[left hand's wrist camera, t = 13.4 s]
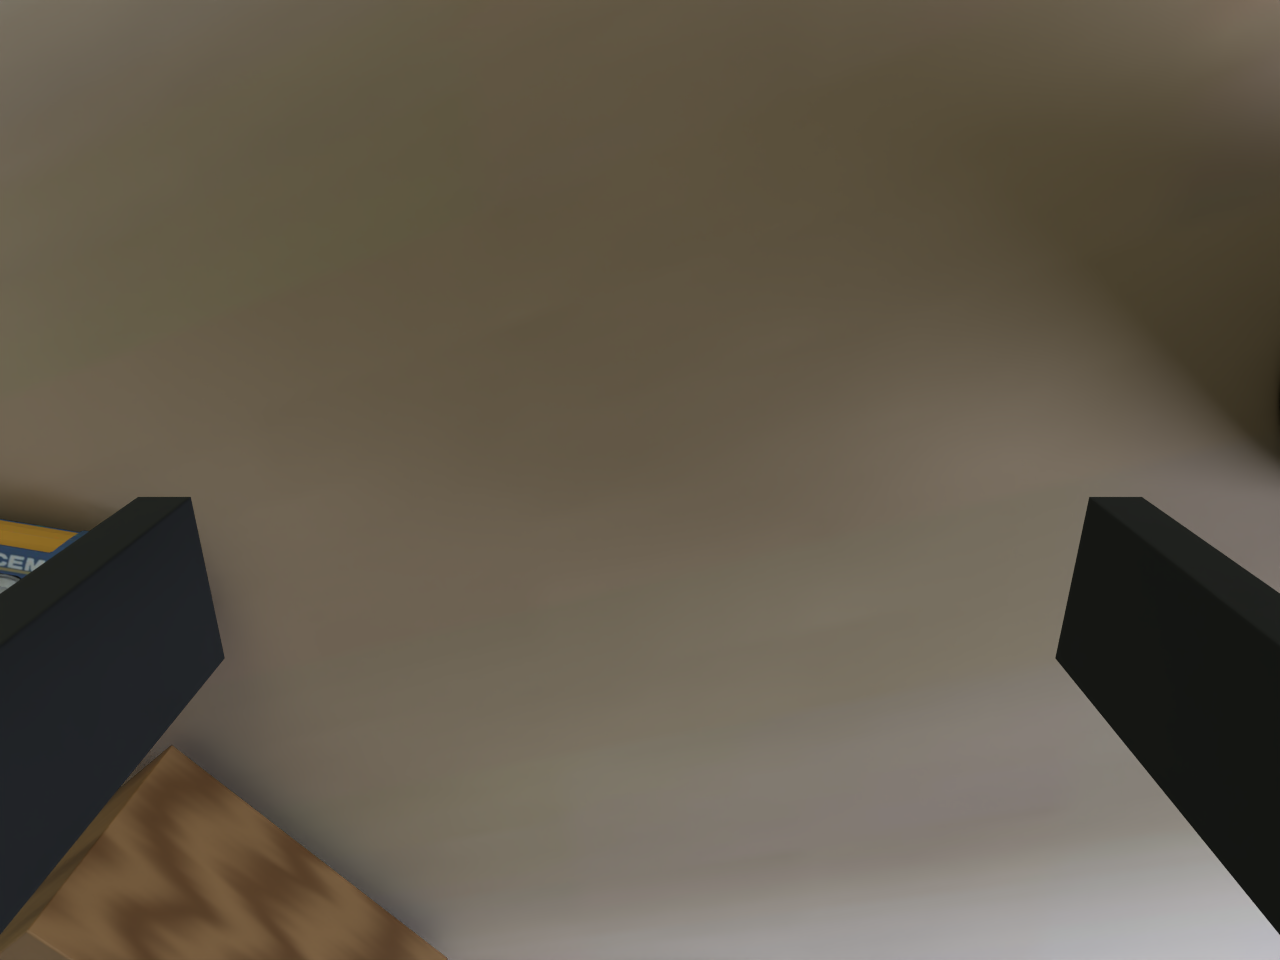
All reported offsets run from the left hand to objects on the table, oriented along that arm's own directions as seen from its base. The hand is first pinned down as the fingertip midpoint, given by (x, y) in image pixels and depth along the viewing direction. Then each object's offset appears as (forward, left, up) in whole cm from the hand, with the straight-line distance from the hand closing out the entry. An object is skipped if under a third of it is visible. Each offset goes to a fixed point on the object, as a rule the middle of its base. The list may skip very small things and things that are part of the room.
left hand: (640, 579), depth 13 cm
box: (-10, +40, -28) cm, 50 cm away
